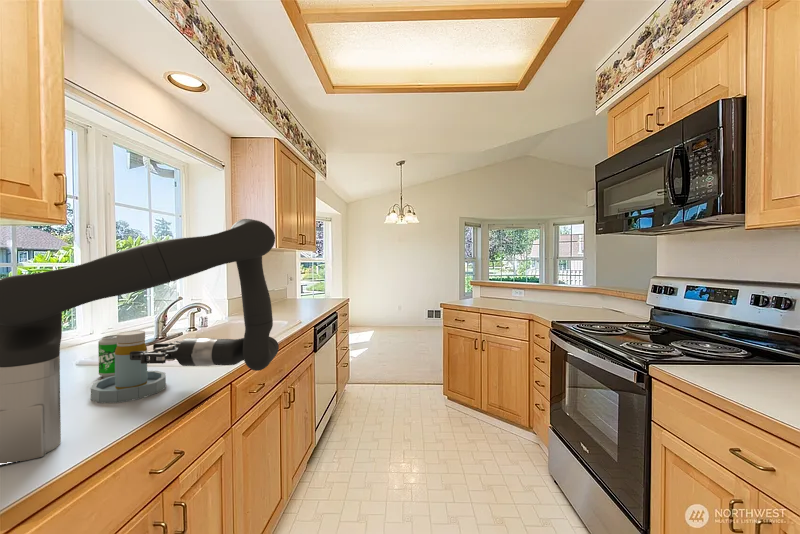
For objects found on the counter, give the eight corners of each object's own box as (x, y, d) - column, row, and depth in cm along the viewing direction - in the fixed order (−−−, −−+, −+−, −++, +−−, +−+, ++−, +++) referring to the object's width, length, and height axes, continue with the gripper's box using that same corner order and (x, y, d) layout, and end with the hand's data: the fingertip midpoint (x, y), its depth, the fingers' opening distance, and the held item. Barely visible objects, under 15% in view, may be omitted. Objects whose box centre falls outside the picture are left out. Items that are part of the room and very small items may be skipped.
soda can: (105, 372, 112) (105, 334, 112) (133, 370, 114) (133, 333, 114) (93, 380, 105) (93, 340, 104) (123, 377, 107) (123, 338, 107)
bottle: (130, 392, 92) (129, 336, 92) (108, 390, 94) (107, 334, 94) (153, 383, 99) (153, 330, 99) (132, 381, 101) (132, 329, 100)
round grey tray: (165, 394, 94) (165, 383, 94) (86, 407, 85) (86, 395, 85) (165, 377, 108) (165, 367, 108) (96, 387, 99) (96, 377, 99)
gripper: (215, 332, 103) (160, 332, 103) (185, 344, 89) (121, 343, 89) (215, 358, 103) (160, 357, 103) (185, 374, 89) (122, 373, 89)
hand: (142, 351), depth 96 cm, fingers open, 8 cm apart
